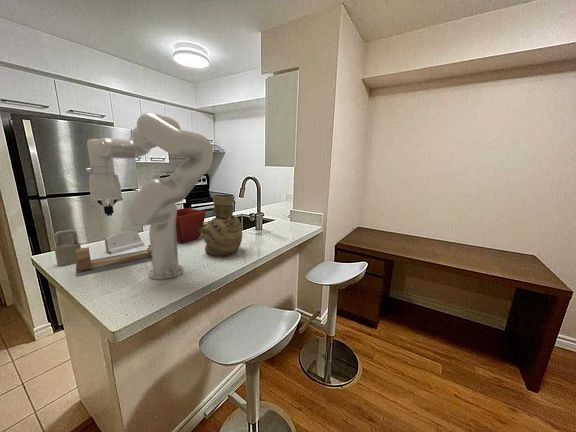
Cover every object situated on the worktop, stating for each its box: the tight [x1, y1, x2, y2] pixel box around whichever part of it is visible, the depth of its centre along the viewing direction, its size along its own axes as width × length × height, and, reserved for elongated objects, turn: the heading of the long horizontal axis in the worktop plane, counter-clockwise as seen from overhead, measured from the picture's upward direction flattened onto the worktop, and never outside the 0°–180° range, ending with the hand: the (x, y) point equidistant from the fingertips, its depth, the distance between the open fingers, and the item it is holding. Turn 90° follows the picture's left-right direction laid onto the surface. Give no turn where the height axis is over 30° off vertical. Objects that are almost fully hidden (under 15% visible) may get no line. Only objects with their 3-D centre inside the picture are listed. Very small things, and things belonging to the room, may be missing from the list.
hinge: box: [104, 230, 145, 255], centre depth 125 cm, size 17×5×10 cm, turn 151°
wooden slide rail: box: [75, 249, 152, 277], centre depth 109 cm, size 14×32×1 cm, turn 131°
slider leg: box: [76, 246, 92, 271], centre depth 99 cm, size 9×4×8 cm, turn 41°
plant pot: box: [176, 207, 206, 244], centre depth 142 cm, size 19×19×17 cm
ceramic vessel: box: [199, 194, 243, 258], centre depth 120 cm, size 19×21×30 cm
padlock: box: [53, 229, 82, 267], centre depth 105 cm, size 4×8×15 cm, turn 144°
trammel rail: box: [91, 244, 151, 268], centre depth 108 cm, size 9×30×3 cm, turn 131°
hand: (109, 215), depth 101 cm, fingers closed
